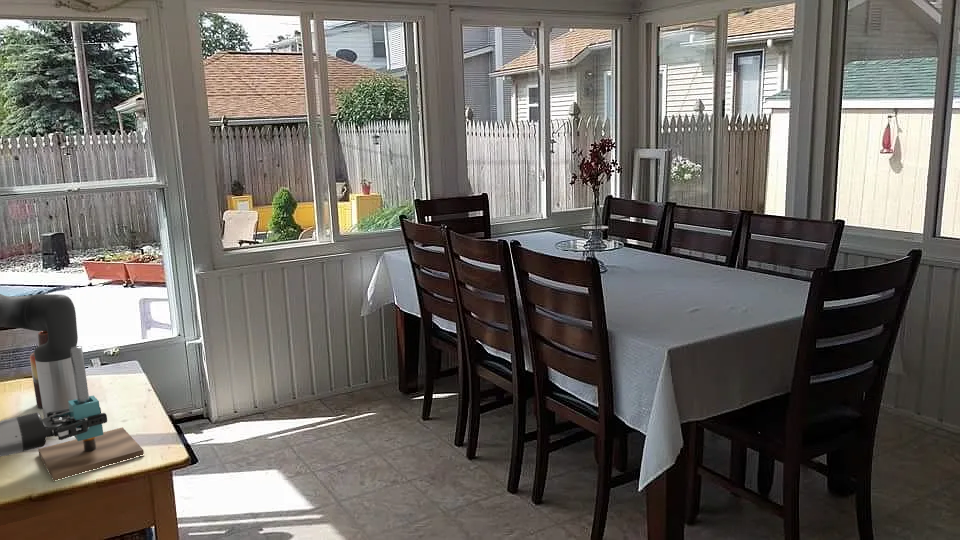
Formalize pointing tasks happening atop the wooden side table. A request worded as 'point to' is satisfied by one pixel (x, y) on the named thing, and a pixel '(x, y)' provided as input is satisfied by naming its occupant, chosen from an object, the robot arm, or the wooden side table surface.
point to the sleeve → (86, 411)
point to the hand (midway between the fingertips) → (103, 413)
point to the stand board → (89, 454)
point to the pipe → (81, 387)
